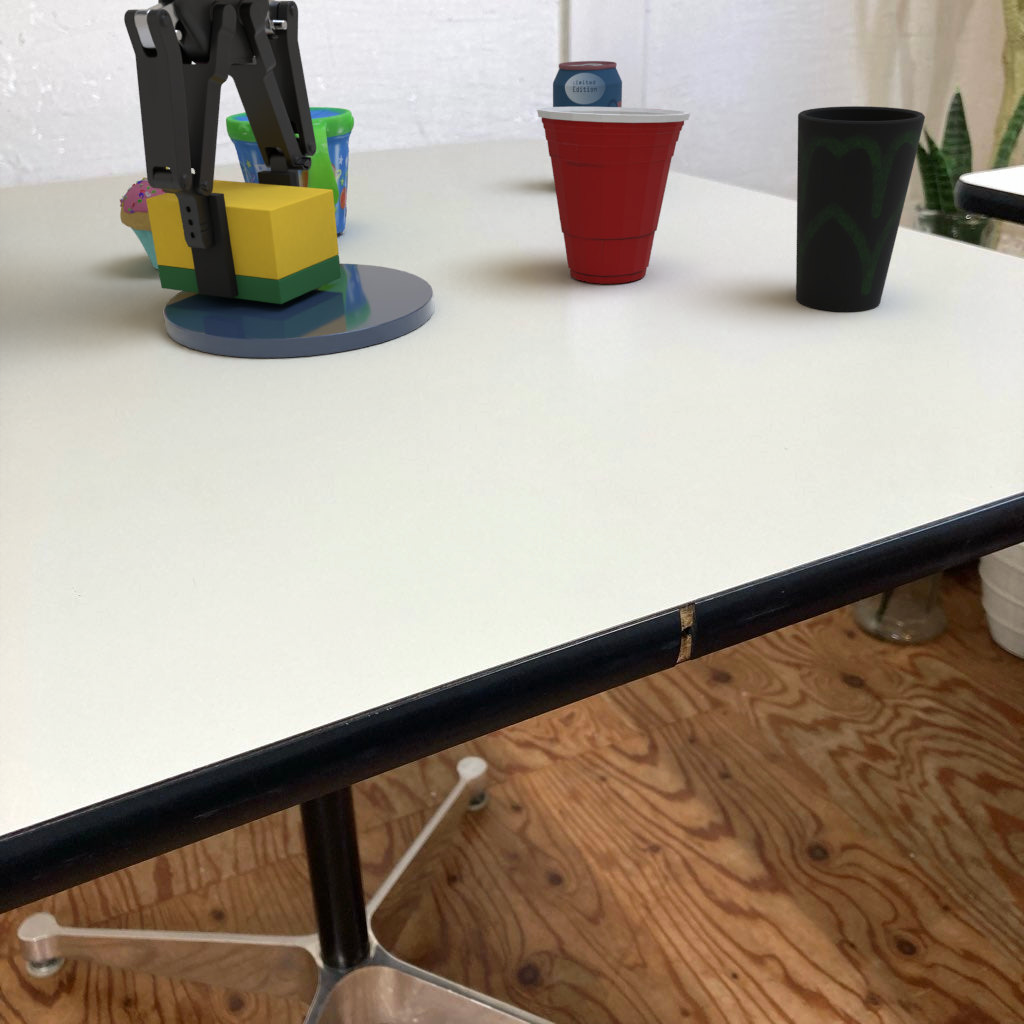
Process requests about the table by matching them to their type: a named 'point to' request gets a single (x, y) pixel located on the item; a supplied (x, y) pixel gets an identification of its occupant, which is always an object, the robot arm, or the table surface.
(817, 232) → the cup
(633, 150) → the plastic cup
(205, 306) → the plate
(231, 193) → the sponge
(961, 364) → the table surface
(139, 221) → the cupcake
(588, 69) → the soda can
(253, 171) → the snack cup
